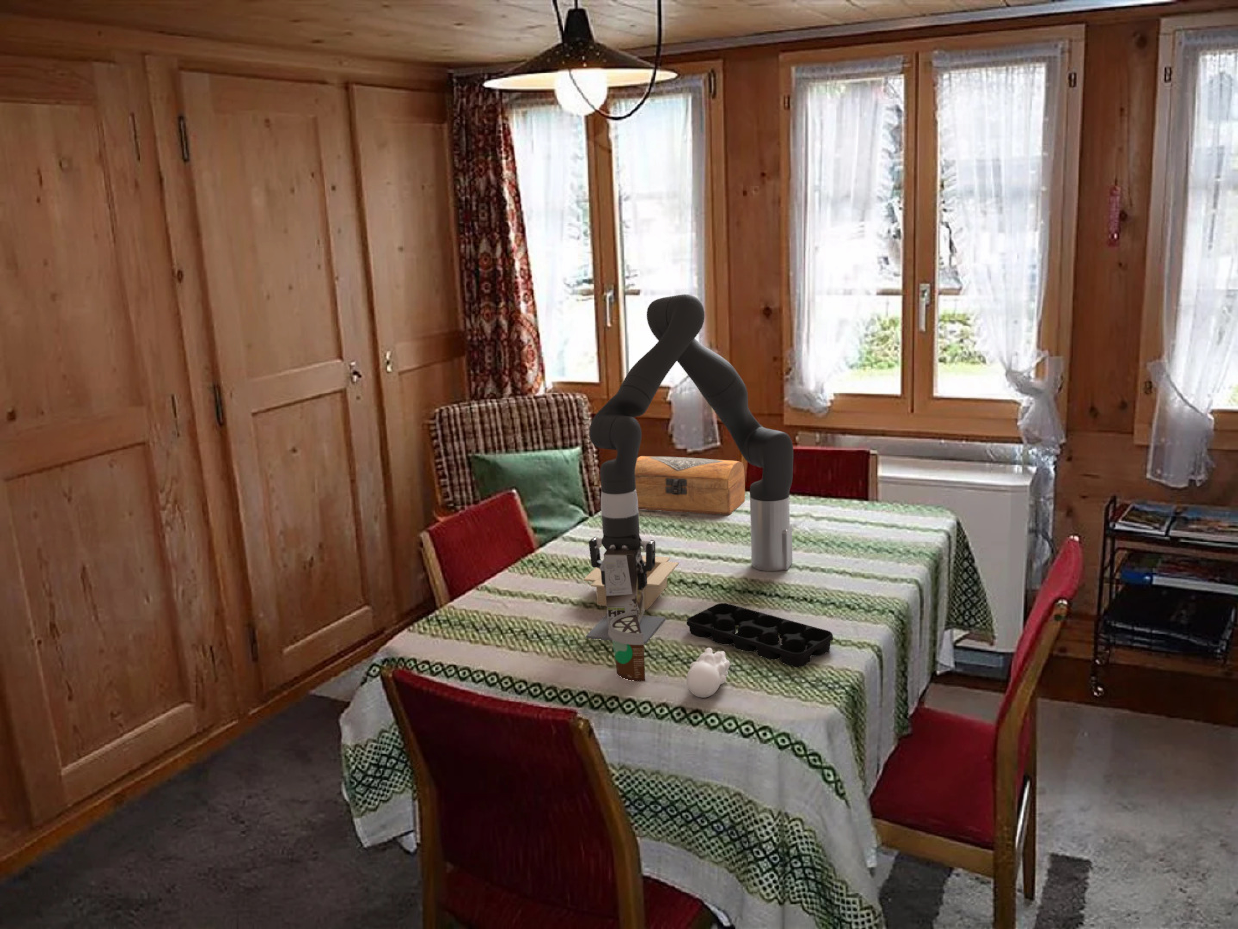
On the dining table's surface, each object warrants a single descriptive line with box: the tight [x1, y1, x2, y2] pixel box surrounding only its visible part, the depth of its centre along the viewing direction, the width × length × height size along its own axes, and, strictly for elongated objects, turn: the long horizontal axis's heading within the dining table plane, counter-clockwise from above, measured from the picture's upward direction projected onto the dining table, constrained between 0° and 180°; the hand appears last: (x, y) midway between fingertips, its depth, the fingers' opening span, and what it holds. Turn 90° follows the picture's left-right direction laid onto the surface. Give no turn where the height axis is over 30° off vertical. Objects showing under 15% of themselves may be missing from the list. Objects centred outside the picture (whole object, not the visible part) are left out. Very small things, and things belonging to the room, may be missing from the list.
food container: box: [608, 611, 646, 682], centre depth 204 cm, size 12×6×10 cm, turn 5°
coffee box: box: [603, 547, 645, 628], centre depth 223 cm, size 9×6×16 cm
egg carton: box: [686, 602, 834, 668], centre depth 215 cm, size 18×30×4 cm, turn 58°
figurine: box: [685, 647, 731, 699], centre depth 196 cm, size 7×7×12 cm
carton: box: [583, 555, 679, 611], centre depth 243 cm, size 18×21×6 cm
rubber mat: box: [585, 613, 666, 645], centre depth 225 cm, size 13×13×1 cm
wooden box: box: [635, 455, 746, 516], centre depth 310 cm, size 30×16×14 cm, turn 66°
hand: (624, 587), depth 223 cm, fingers closed on coffee box, 7 cm apart
